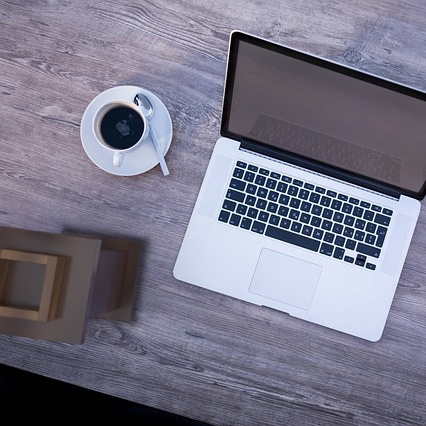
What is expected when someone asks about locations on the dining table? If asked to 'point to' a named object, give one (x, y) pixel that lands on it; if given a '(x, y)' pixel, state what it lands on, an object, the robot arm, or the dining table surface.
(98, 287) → the stand base
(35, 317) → the socket stand
